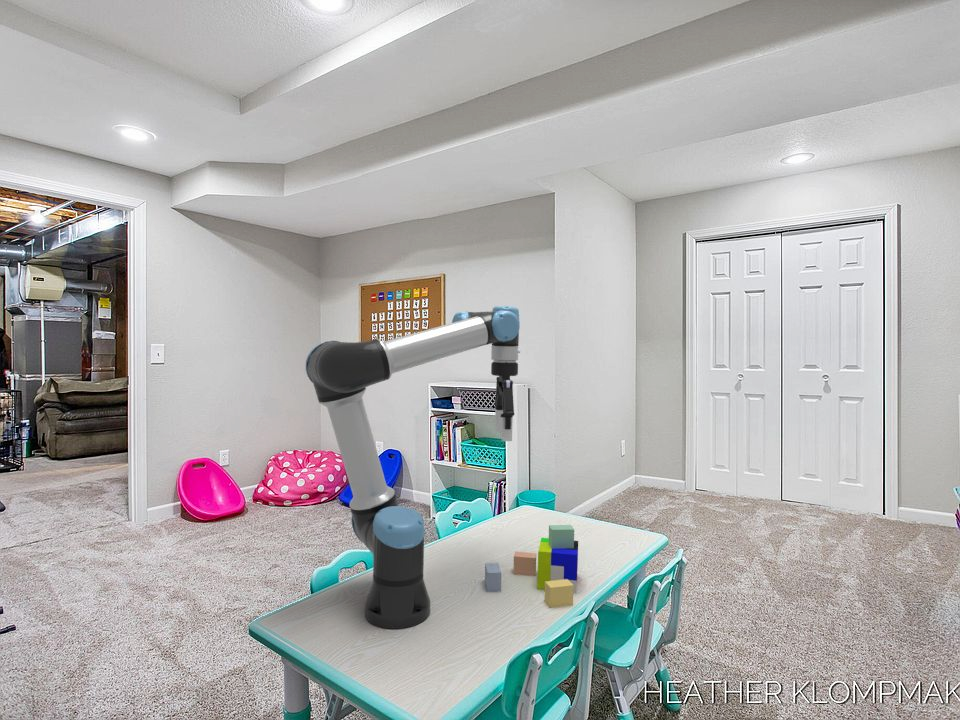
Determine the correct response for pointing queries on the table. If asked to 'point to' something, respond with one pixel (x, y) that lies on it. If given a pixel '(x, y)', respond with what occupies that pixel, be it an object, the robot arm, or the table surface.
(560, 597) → the ochre block
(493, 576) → the slate block
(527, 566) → the terracotta block
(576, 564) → the puzzle toy
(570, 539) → the green block
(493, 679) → the table surface
